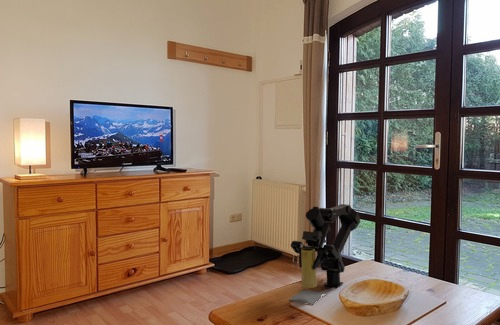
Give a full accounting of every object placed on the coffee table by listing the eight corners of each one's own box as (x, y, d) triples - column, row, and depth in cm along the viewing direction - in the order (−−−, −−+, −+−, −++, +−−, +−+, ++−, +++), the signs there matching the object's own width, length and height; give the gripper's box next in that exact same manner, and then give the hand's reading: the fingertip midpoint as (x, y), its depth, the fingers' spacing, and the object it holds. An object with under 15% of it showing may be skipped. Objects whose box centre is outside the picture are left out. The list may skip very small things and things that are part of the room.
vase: (314, 288, 151) (313, 251, 151) (299, 286, 154) (297, 250, 153) (319, 283, 156) (317, 247, 156) (304, 282, 159) (302, 246, 159)
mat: (304, 290, 166) (304, 289, 166) (326, 294, 160) (326, 293, 160) (289, 300, 155) (289, 299, 155) (312, 305, 149) (312, 303, 149)
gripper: (291, 221, 163) (277, 253, 155) (333, 224, 152) (320, 260, 143) (302, 236, 170) (289, 268, 161) (343, 240, 158) (331, 275, 150)
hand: (306, 268), depth 154 cm, fingers closed on vase, 5 cm apart
